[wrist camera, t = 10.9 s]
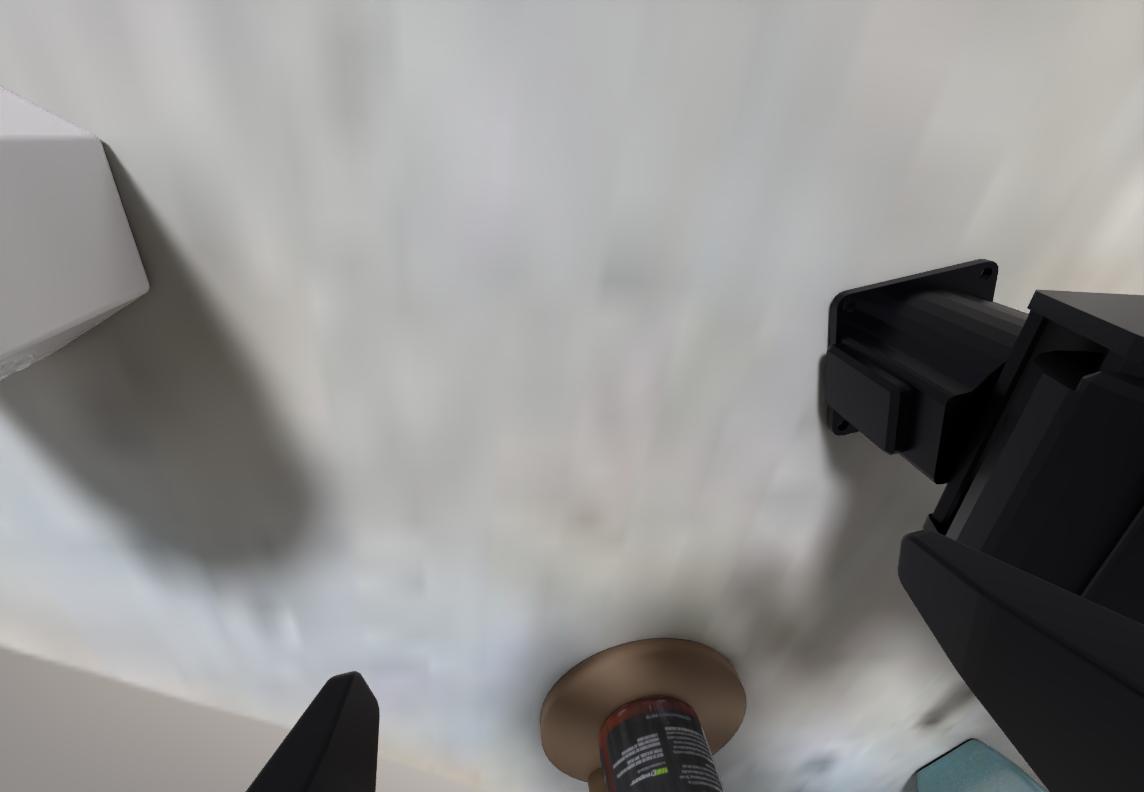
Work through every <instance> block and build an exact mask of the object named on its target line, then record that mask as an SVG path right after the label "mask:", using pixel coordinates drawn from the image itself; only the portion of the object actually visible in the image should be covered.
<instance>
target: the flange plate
mask: <svg viewBox="0 0 1144 792" xmlns="http://www.w3.org/2000/svg"><path fill="white" fill-rule="evenodd" d="M654 696H665V697H672V698H677V699H679V700H682V701H683V702H686V703H687V704H689V705H690V706H691V707H692V708H693V709H694V711H695V712H696V714H697V716H698V719H699V721H700V724H701V726H702V728H703V731H704V734H705V737H706V740H707V742H708V745H709V748H710V751H711V754H712V755H714V754H715V753H716V752H718V751H719V750H720V749H721V748H722V747H724V746H725V745H726V744H727V742H728V741H729V740H730V739H731V738H732V737H733V736H734V734H735V733H736V732H737V730H738V728H739V727H740V725H741V723H742V721H743V718H744V715H745V711H746V695H745V692H744V689H743V686H742V684H741V682H740V679H739V677H738V675H737V673H736V671H735V669H734V667H733V665H732V664H731V663H730V662H729V660H728V659H727V658H725V657H724V656H723V655H722V654H721V653H719V652H717V651H716V650H714V649H712V648H710V647H708V646H705V645H703V644H700V643H696V642H692V641H687V640H681V639H666V638H662V639H647V640H640V641H634V642H630V643H626V644H622V645H618V646H615V647H612V648H609V649H607V650H604V651H602V652H600V653H597V654H595V655H593V656H591V657H589V658H587V659H586V660H584V661H582V662H581V663H579V664H578V665H576V666H575V667H573V668H572V669H571V670H569V671H568V672H567V673H566V674H565V675H563V676H562V677H561V678H560V679H559V680H558V682H557V683H556V684H555V685H554V686H553V687H552V689H551V690H550V692H549V693H548V695H547V697H546V699H545V701H544V703H543V706H542V710H541V716H540V725H541V738H542V746H543V749H544V752H545V754H546V756H547V757H548V759H549V761H550V762H551V763H552V764H553V765H554V766H555V767H556V768H558V769H559V770H560V771H562V772H563V773H565V774H567V775H569V776H571V777H573V778H576V779H578V780H581V781H585V782H588V785H589V792H606V789H605V783H604V777H603V772H602V765H601V761H600V753H599V752H600V751H599V745H598V735H599V732H600V730H601V727H602V726H603V724H604V723H605V721H606V720H607V719H608V717H609V716H610V715H611V714H613V713H614V712H615V711H617V710H618V709H619V708H620V707H622V706H624V705H626V704H628V703H631V702H633V701H636V700H638V699H643V698H649V697H654Z"/></svg>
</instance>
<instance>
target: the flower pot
mask: <svg viewBox="0 0 1144 792" xmlns="http://www.w3.org/2000/svg"><path fill="white" fill-rule="evenodd" d="M916 780H917V792H1049V791H1047V790H1046V789H1045V788H1044V787H1042V786H1041V785H1040V784H1038V783H1037V782H1036V781H1035V780H1034V779H1033V778H1031V777H1030V776H1029V775H1028V774H1027V773H1025V772H1024V771H1023V770H1022V769H1021V768H1019V767H1018V766H1017V765H1016V764H1014V763H1013V762H1012V761H1010V760H1009V759H1008V758H1006V757H1005V756H1003V755H1002V754H1000V753H999V752H997V751H996V750H994V749H992V748H991V747H989V746H987V745H986V744H984V743H982V742H980V741H978V740H976V739H973V740H970V741H968V742H966V743H965V744H963V745H961V746H960V747H958V748H957V749H955V750H953V751H952V752H950V753H948V754H947V755H945V756H944V757H942V758H940V759H939V760H937V761H935V762H934V763H932V764H930V765H929V766H927V767H925V768H923V769H922V770H920V771H919V772H918V773H917V775H916Z"/></svg>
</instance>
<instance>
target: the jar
mask: <svg viewBox="0 0 1144 792" xmlns="http://www.w3.org/2000/svg"><path fill="white" fill-rule="evenodd" d="M149 288H150V285H149V282H148V279H147V276H146V273H145V270H144V267H143V264H142V261H141V258H140V255H139V253H138V250H137V247H136V244H135V241H134V238H133V235H132V232H131V229H130V226H129V223H128V220H127V217H126V214H125V211H124V208H123V205H122V202H121V199H120V196H119V193H118V191H117V188H116V185H115V182H114V179H113V176H112V173H111V170H110V167H109V164H108V161H107V158H106V155H105V152H104V149H103V146H102V143H101V141H100V140H99V138H98V137H97V136H95V135H94V134H92V133H90V132H88V131H86V130H84V129H82V128H80V127H79V126H77V125H75V124H73V123H71V122H69V121H67V120H65V119H63V118H61V117H59V116H57V115H55V114H53V113H51V112H49V111H47V110H45V109H43V108H41V107H39V106H37V105H35V104H33V103H31V102H29V101H27V100H25V99H23V98H21V97H19V96H18V95H16V94H14V93H12V92H10V91H8V90H6V89H4V88H2V87H0V381H1V380H3V379H4V378H6V377H7V376H9V375H11V374H13V373H15V372H17V371H20V370H23V369H25V368H27V367H28V366H30V365H31V364H33V363H35V362H37V361H39V360H41V359H43V358H45V357H47V356H49V355H51V354H52V353H54V352H56V351H57V350H59V349H60V348H62V347H63V346H65V345H66V344H68V343H70V342H71V341H73V340H74V339H76V338H77V337H79V336H80V335H82V334H84V333H85V332H87V331H88V330H90V329H91V328H93V327H94V326H96V325H98V324H99V323H101V322H102V321H104V320H105V319H107V318H108V317H110V316H112V315H113V314H115V313H116V312H118V311H119V310H121V309H122V308H124V307H126V306H127V305H129V304H130V303H132V302H133V301H135V300H136V299H138V298H140V297H141V296H143V295H144V294H146V293H147V292H148V291H149Z"/></svg>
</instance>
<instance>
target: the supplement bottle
mask: <svg viewBox="0 0 1144 792" xmlns="http://www.w3.org/2000/svg"><path fill="white" fill-rule="evenodd" d="M598 745H599V751H600V752H599V753H600V761H601V765H602V772H603V777H604V783H605V789H606V792H725V790H724V788H723V785H722V782H721V779H720V776H719V773H718V771H717V768H716V765H715V762H714V759H713V757H712V754H711V751H710V748H709V745H708V742H707V740H706V737H705V734H704V731H703V728H702V726H701V724H700V721H699V719H698V716H697V714H696V712H695V711H694V709H693V708H692V707H691V706H690V705H689V704H687V703H686V702H683V701H682V700H679V699H677V698H672V697H665V696H654V697H649V698H643V699H638V700H636V701H633V702H631V703H628V704H626V705H624V706H622V707H620V708H619V709H618V710H617V711H615V712H614V713H613V714H611V715H610V716H609V717H608V719H607V720H606V721H605V723H604V724H603V726H602V727H601V730H600V732H599V735H598Z"/></svg>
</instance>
